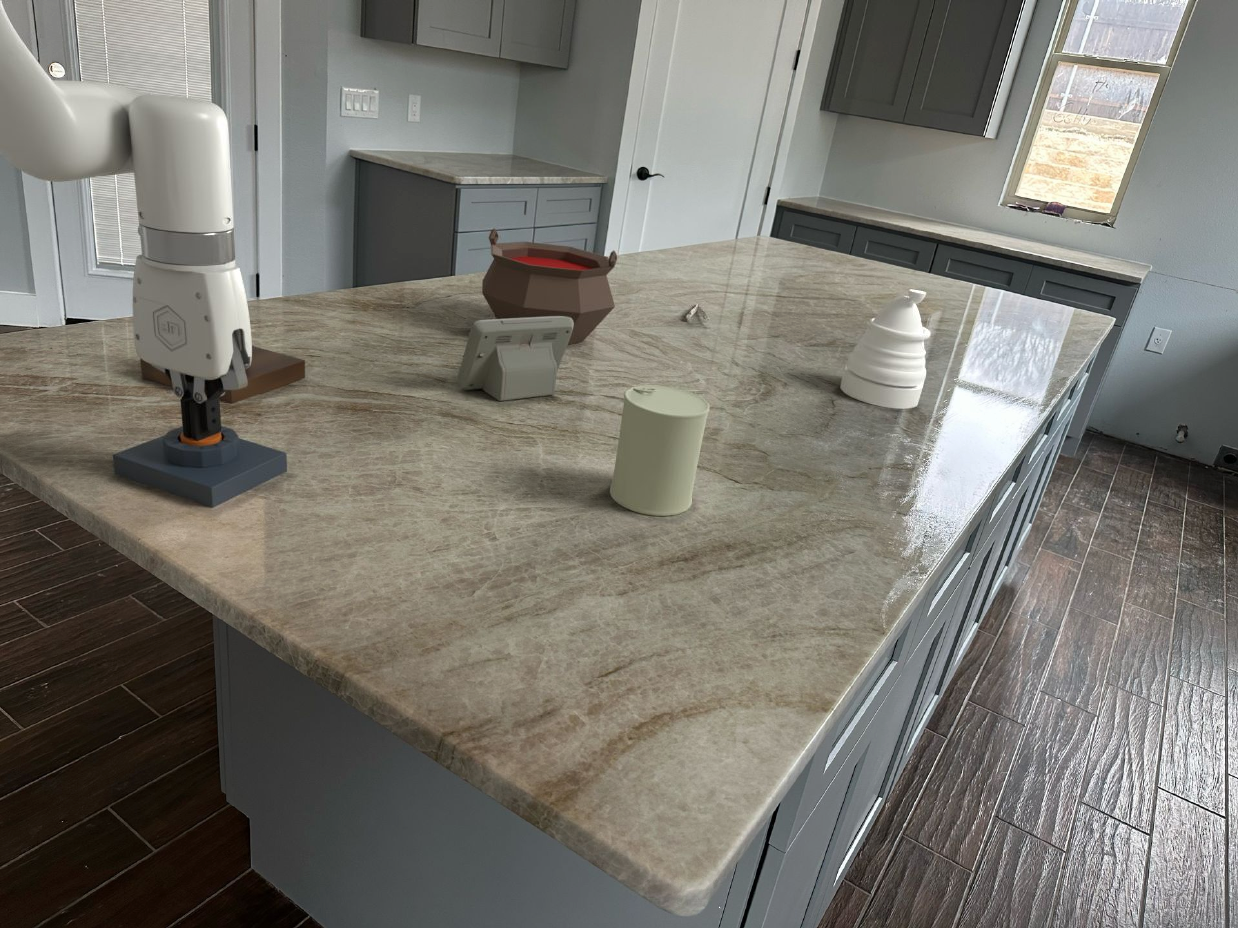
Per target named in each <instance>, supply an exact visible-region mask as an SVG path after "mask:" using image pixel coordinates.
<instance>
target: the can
mask: <svg viewBox="0 0 1238 928" xmlns="http://www.w3.org/2000/svg"><path fill="white" fill-rule="evenodd" d="M709 411H710V404H709V403H708V401H707V400H705V398H703V397H702V396H700V395H698V394H695V393H693V392H691V391H688V390H685V389H682V388H677V387H673V386H669V385H668V386H667V385H659V384H658V385H657V384H645V385H644V384H643V385H642V384H641V385H636V386H631V387H630V388H628V389H626V390H625V392H624V393H623V405H622V412H621V420H620V430H619V436H618V443H617V450H616V456H615V463H614V468H613V473H612V480H611V483H610V484H611V485H610V486H609V495H610V497H611V498H612V500H613V501H614V502H616V504H618V505H620V506H621V507H623V508H624V509H627V510H630V511H632V512H635V513H639V514H642V515H647V516H655V517H670V516H675V515H680V514H682V513H685V512H686V511H688V510H689V509H690V508H691V506H692V503H693V499H692V498H693V491H694V485H695V479H696V475H697V474H696V473H697V470H698V462H699V459H700V453H701V448H702V442H703V438H704V432H705V428H706V423H707V419H708V416H709V415H708V414H709Z"/></svg>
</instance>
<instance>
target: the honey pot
mask: <svg viewBox="0 0 1238 928" xmlns="http://www.w3.org/2000/svg"><path fill="white" fill-rule="evenodd" d="M926 295H927V292H926V291H922V290H920V289H919V290H918V289H909V290H908V296H907V295H901V296H897V297H895V298H894V299H892V300H891V301H890V302H888V303H887V304H886V305H885V306H884V307H883V308H882V310H880V311H879V313H878V314H877V315H876V316H875V317H873V318H869V319H868V321H867V326H868V327H867V329H866V330H865V332H864V333H863V335H862V336H860V337H859V339H858V342H857V344H855V345H854V348H853V350H852V351H851V352H850V353H849V355H848V357H847V359H846V364H845V368H844V370H843V374H842V378H841V381H840V386H839V388H840V390H841V391H842V392H843V393H844V394H845V395H847V396H849V397H851V398H853V399H854V400H858V401H860V402H862V403H863V402H864V403H866V404H869V405H873V406H877V407H882V408H887V409H897V410H902V409H903V410H905V409H906V410H907V409H908V410H909V409H913V408H916V407H917V406H918V405H919V401H920V398H921V395H922V391H923V389H924V384H925V380H926V379H927V369H926V358H925V357H926V354H927V352H926V350H925V340H927V339H929V338H930V337H931V331H930V330H929V329H928V328H926V327H924V326H923V324H922V319H921V314H920V312H919V308H918V306H917V304H919V303H921V302H922V301H923V300H924V299H925V297H926Z"/></svg>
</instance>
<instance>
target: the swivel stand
mask: <svg viewBox="0 0 1238 928" xmlns="http://www.w3.org/2000/svg"><path fill="white" fill-rule="evenodd" d="M139 361H140V371H141V372H140V373H141V378H142V379H145V380H149V381H151V382H154V383H158V384H162V385H165V386H169V387H172V388H173V385H172V382H171V380H170V379H169V377H168V376H167V375H166V373H164V372H162V371H160V370H158V369H157V368H155V367H153V366H152V365H151V364H150V363H148V362H146V361H144V360H142V359H141V358H139ZM245 372H246V376H247V380H248V385H247V386H246V387H243V388H241V389H238V390H226V391H225V394H224V395H223V396H221V397H219V399H220V402H224V403H227V404H230V405H233V404H235V403H239V402H242V401H244V400H247V399H250V398H253V397H255V396H257V395H263V394H265V393H267V392H271V391H274V390H276V389H279V388H282V387H284V386H287V385H290V384H292V383H293V384H294V383H295V382H298V381H301V380H303V379H305V378H306V360H305V359H301V358H298V357H295V356H291V355H287V354H283V353H279V352H276V351H273V350H269V349H265V348H261V347H258V346H254V345H252V359H251V364H250V367H249V368H247V369H245Z"/></svg>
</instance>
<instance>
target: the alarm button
mask: <svg viewBox="0 0 1238 928" xmlns="http://www.w3.org/2000/svg"><path fill="white" fill-rule="evenodd" d="M220 441H222V438H221V432H220V433H217V434H215V435H212V436H210V437H207V438H205V439H202V440H199V441H197V440H194V439H193V438H192V437H191V438H187V437H185V436H184V435H183V432H182V433H181V443H184V444H187V445H192V446H204V445H212V444H215V443H218V442H220Z"/></svg>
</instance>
